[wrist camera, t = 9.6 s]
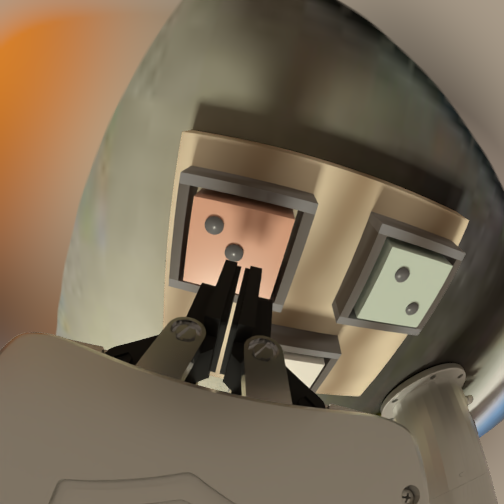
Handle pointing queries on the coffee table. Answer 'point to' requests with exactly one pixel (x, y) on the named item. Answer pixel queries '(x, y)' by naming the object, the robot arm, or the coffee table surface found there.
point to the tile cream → (304, 366)
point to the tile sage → (402, 284)
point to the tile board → (312, 249)
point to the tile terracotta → (236, 238)
